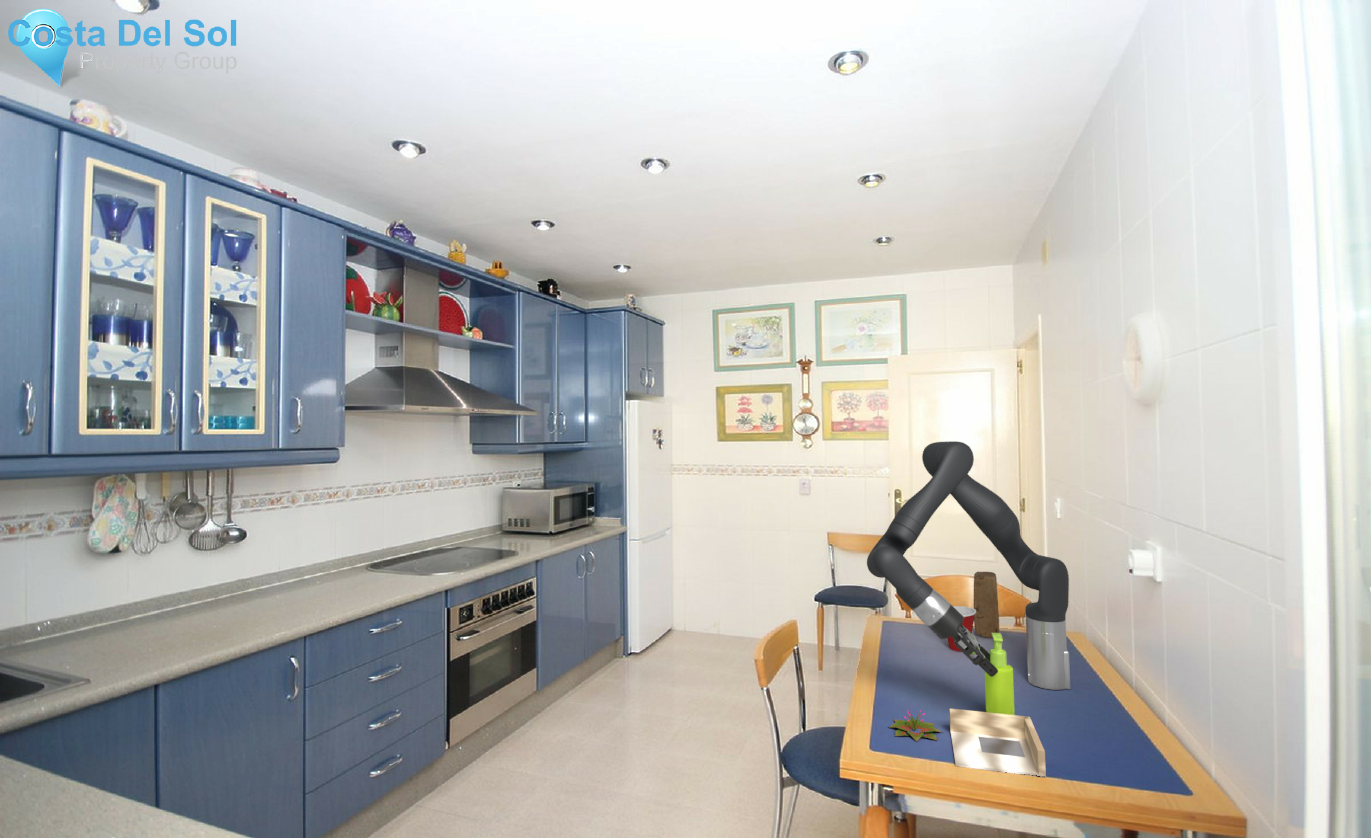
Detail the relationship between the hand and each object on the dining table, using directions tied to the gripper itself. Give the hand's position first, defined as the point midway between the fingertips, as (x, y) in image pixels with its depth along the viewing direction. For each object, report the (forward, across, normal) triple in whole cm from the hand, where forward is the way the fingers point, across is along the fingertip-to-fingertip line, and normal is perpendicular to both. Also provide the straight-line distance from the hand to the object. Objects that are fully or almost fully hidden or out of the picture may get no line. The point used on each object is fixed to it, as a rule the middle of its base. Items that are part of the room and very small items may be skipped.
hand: (992, 667), depth 148 cm
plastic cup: (+6, +53, +12) cm, 55 cm away
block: (+13, +71, +5) cm, 72 cm away
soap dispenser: (+10, 0, +8) cm, 13 cm away
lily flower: (-3, -9, +22) cm, 24 cm away
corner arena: (+8, -15, +10) cm, 20 cm away
